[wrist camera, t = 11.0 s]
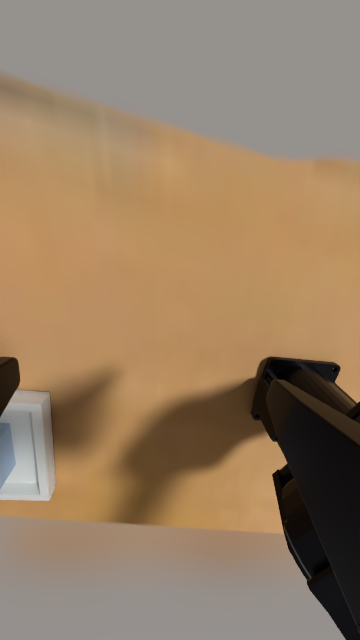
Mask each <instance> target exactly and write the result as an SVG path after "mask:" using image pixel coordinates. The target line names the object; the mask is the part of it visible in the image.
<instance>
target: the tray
mask: <svg viewBox="0 0 360 640" xmlns="http://www.w3.org/2000/svg"><path fill="white" fill-rule="evenodd" d="M0 423H10V428H11V434H12V441H13V448H14V454H15V461H16V465H15V467H14V468H13V470H12V471H11V473H10V475H9V476H8V478H7V479H6V481H5V483H4V484H3V486H2V488H1V489H0V500H40V501H50V498H51V496H52V493H53V491H54V489H55V486H56V477H55V462H54V447H53V433H52V418H51V403H50V392H41V391H27V390H16V391H15V393H14V394H13V396H12V398H11V400H10V401H9V403H8V405H7V407H6V408H5V410H4V412H3V413H2V415H1V417H0Z"/></svg>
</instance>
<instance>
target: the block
mask: <svg viewBox="0 0 360 640" xmlns="http://www.w3.org/2000/svg"><path fill="white" fill-rule="evenodd" d="M15 465H16V461H15V454H14V448H13V441H12V434H11V428H10V423H0V489H1V488H2V486H3V484H4V483H5V481H6V479H7V478H8V476H9V475H10V473H11V471H12V470H13V468H14V467H15Z"/></svg>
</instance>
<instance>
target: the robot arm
mask: <svg viewBox="0 0 360 640" xmlns="http://www.w3.org/2000/svg"><path fill="white" fill-rule="evenodd" d="M273 362H275V363H274V364H272V363H273ZM333 368H334V369H333ZM339 371H340V366H339V365H337V364H336V363H334V362H324V361H313V360H302V359H292V358H281V357H271V358H269V359H268V360H267V363H266V366H265V369H264V372H263V376H262V379H261V380H260V381H259V384H258V387H257V390H256V394H255V397H254V400H253V408H252V411H251V415H252V417H253V419H254V420H261V421H262V423H263V425H264V427H265V429H266V431H267V433H268V435H269V437H270V438H271V439H272V441H274V442H277V443H278V445H279V447H280V448H281V450H282V452H283V454H284V456H285V458H286V461H287V464H286V465H285V466H284V467H283V468H282V469H280V470H277V471H276V472H275V473H273V474H272V476H273V481H274V486H275V491H276V496H277V500H278V505H279V510H280V515H281V520H282V525H283V530H284V534H285V538H286V541H287V545H288V548H289V551H290V553H291V554H292V555H293V557H294V559H295V561H296V563H297V565H298V567H299V568H300V570H301V572H302V573H303V575H304V576H305V578H306V579H307V585H308V587H309V589H310V591H311V592H312V593H313V594H314V596H315V597H316V598H317V599H318V601H319V602H320V603H321V604H322V606H323V607H324V608H325V609H326V611H327V612H328V613H329V615H330V616H331V617H332V619H333V620H334V622H335V624H336V625H337V627H338V628H339V630H340V631H341V633H342V634H343V636H344V637H345V639H346V640H360V402H358V403H356V402H355V401H354V400H353V399H352V398H351V397H350V396H349V395H348V394H347V393H345V392H344V391H343V390H342V389H341V388H340V387H339V386H338V385H337V384H336V383H335V380H336V378H337V376H338V374H339ZM19 383H20V373H19V364H18V360H17V359H16V358H14V357H0V417H1V415H2V413H3V412H4V410H5V408H6V407H7V405H8V403H9V401H10V400H11V398H12V396H13V394H14V393H15V391H16V389H17V388H18V386H19ZM256 414H257V415H256Z"/></svg>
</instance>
